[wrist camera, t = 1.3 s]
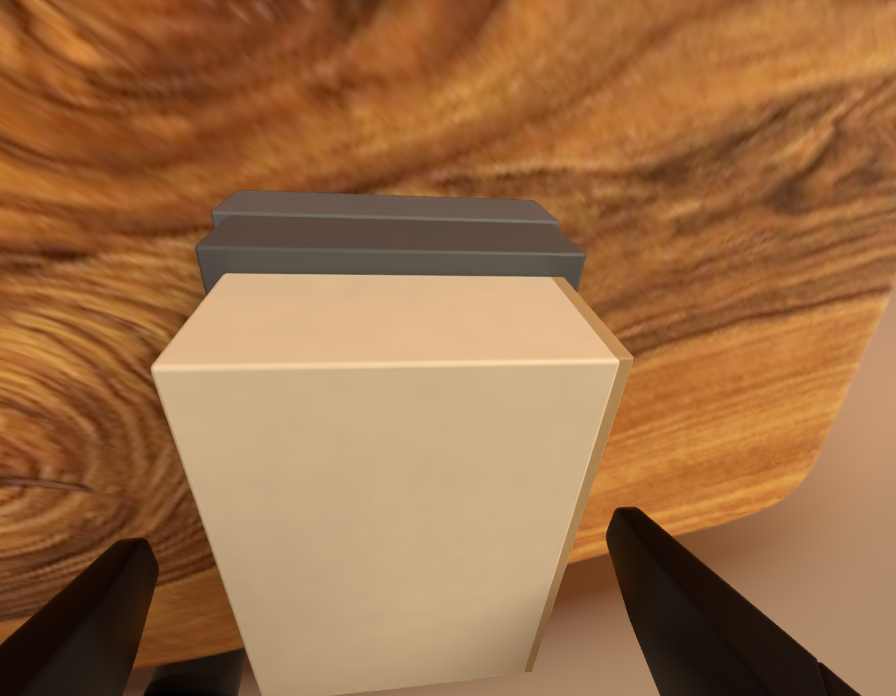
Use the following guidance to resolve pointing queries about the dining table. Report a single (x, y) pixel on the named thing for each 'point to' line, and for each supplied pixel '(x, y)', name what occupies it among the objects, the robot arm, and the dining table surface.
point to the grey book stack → (384, 237)
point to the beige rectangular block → (390, 466)
